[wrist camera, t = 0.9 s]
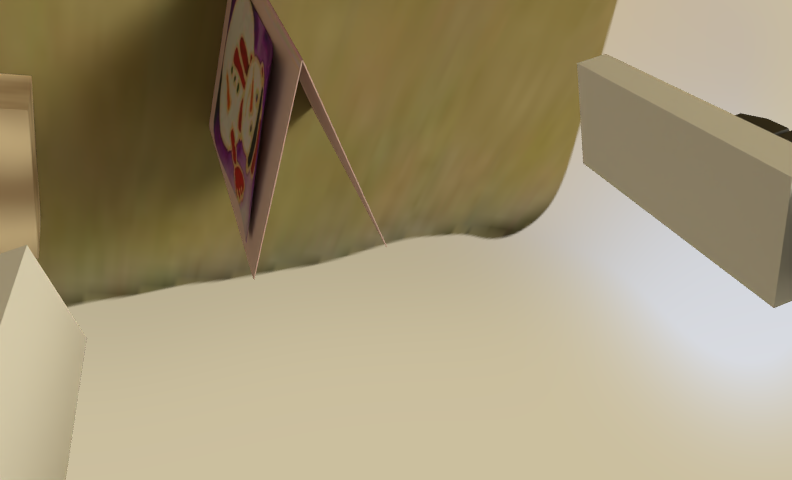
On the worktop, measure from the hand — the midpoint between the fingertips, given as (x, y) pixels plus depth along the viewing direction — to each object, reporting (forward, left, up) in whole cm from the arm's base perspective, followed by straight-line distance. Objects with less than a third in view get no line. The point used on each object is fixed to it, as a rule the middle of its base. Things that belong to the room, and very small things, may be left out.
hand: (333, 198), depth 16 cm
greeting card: (+7, +5, -27) cm, 29 cm away
